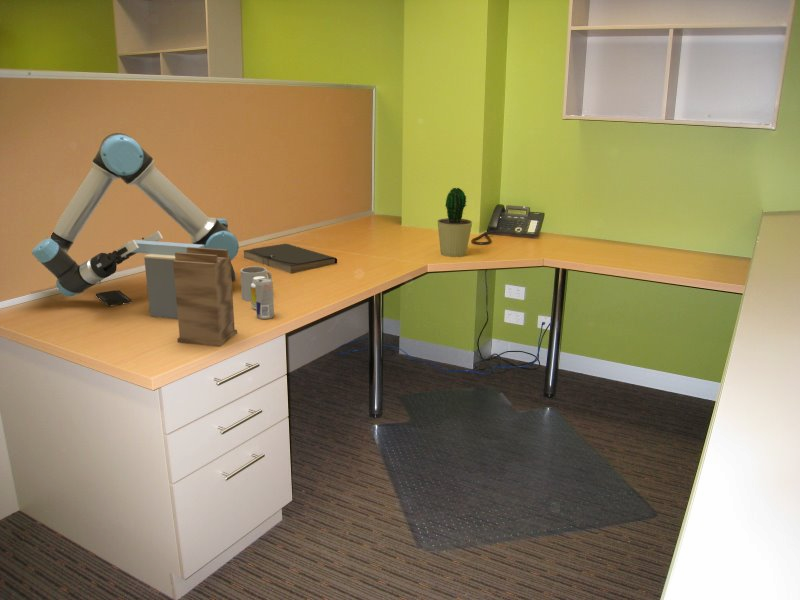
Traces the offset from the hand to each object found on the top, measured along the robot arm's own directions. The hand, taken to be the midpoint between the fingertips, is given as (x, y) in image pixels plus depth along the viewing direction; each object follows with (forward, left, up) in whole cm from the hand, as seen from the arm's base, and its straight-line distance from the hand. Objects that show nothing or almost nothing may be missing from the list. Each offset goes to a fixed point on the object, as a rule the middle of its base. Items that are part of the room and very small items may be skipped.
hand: (148, 238), depth 201 cm
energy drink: (-4, +36, -24) cm, 43 cm away
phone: (-8, -20, -24) cm, 33 cm away
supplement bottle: (-12, +31, -24) cm, 41 cm away
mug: (-23, +26, -24) cm, 42 cm away
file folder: (-73, +18, -24) cm, 79 cm away
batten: (0, +6, -4) cm, 7 cm away
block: (0, +7, -24) cm, 25 cm away
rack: (+17, +27, -24) cm, 39 cm away
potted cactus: (-104, +84, -24) cm, 136 cm away
